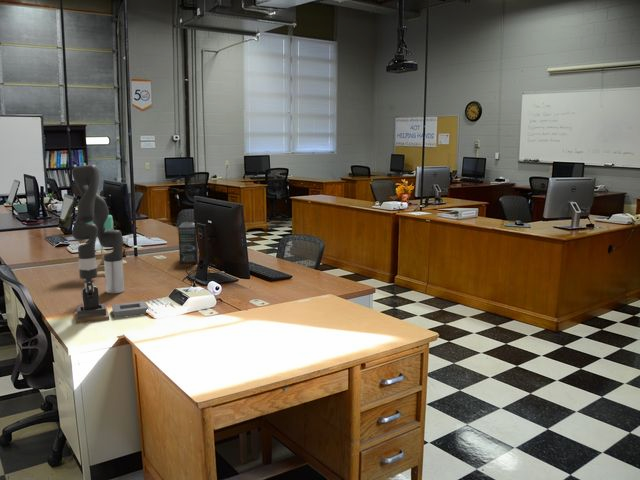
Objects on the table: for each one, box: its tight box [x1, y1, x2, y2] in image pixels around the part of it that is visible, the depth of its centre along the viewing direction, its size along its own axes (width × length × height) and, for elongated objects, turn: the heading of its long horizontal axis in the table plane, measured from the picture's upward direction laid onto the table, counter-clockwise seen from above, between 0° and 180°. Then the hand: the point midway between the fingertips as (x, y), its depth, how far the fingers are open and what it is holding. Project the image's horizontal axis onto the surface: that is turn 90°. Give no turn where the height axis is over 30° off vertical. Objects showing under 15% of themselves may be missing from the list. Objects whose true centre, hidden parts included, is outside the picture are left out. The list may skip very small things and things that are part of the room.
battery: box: [81, 285, 100, 310], centre depth 259 cm, size 7×4×11 cm, turn 124°
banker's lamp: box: [85, 214, 115, 278], centre depth 339 cm, size 16×21×35 cm
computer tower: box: [177, 221, 199, 264], centre depth 375 cm, size 22×12×26 cm, turn 6°
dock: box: [111, 300, 149, 319], centre depth 267 cm, size 12×15×3 cm
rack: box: [74, 303, 110, 325], centre depth 260 cm, size 14×14×4 cm
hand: (90, 303), depth 259 cm, fingers closed on battery, 4 cm apart
